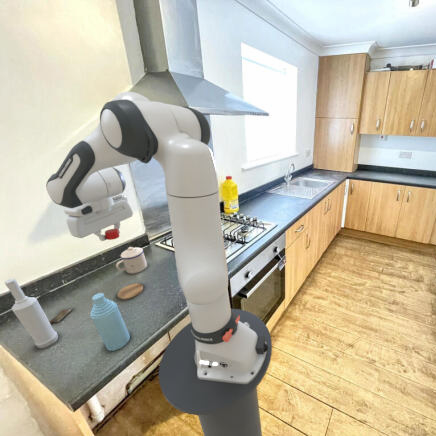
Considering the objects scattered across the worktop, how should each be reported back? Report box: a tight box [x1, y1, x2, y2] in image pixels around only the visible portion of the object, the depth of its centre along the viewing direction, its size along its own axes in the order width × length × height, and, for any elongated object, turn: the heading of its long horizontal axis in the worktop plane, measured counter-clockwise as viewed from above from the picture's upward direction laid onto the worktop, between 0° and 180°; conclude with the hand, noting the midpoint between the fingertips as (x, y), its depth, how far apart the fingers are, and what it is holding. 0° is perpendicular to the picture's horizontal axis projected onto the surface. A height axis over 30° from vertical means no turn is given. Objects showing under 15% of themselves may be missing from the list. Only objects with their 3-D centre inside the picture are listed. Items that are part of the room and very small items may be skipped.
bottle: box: [4, 278, 59, 349], centre depth 71 cm, size 5×5×25 cm
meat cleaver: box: [48, 308, 73, 325], centre depth 83 cm, size 12×1×5 cm
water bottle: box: [90, 292, 131, 352], centre depth 72 cm, size 6×6×19 cm
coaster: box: [117, 282, 144, 300], centre depth 97 cm, size 9×9×1 cm
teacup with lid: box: [115, 246, 148, 274], centre depth 109 cm, size 12×9×12 cm
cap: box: [104, 228, 120, 241], centre depth 86 cm, size 4×4×3 cm
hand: (110, 237), depth 87 cm, fingers closed on cap, 3 cm apart
